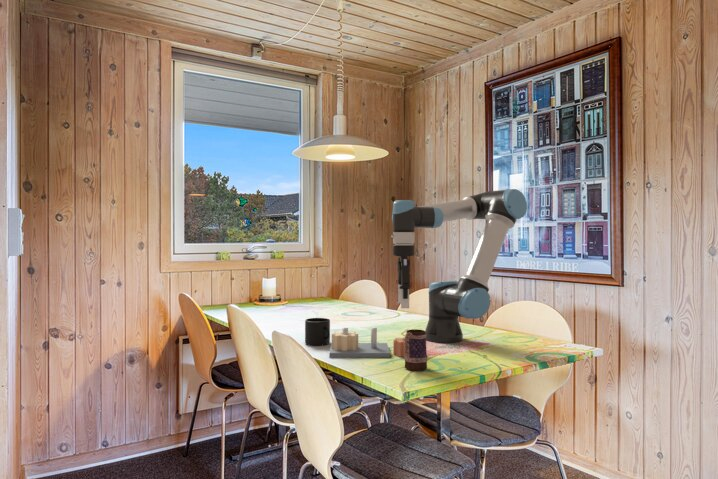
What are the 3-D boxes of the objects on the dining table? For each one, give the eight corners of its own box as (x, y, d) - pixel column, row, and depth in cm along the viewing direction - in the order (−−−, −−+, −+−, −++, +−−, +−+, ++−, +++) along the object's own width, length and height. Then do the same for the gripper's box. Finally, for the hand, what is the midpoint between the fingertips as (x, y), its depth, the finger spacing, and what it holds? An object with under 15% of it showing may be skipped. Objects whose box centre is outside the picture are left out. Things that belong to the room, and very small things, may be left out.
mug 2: (411, 364, 161) (411, 327, 160) (431, 367, 157) (431, 329, 156) (395, 371, 152) (395, 331, 152) (416, 375, 148) (416, 334, 148)
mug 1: (319, 348, 183) (319, 323, 183) (300, 343, 192) (300, 319, 192) (339, 344, 189) (339, 320, 189) (319, 339, 198) (319, 317, 198)
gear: (418, 351, 179) (418, 337, 179) (422, 357, 169) (422, 342, 169) (392, 351, 179) (392, 337, 179) (394, 357, 169) (394, 342, 169)
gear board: (386, 347, 186) (387, 324, 185) (390, 357, 170) (390, 332, 169) (331, 347, 185) (331, 324, 185) (329, 357, 169) (329, 332, 169)
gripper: (390, 244, 187) (390, 300, 187) (395, 245, 162) (395, 310, 162) (410, 244, 187) (410, 300, 187) (418, 245, 162) (418, 310, 162)
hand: (403, 305), depth 175 cm, fingers open, 13 cm apart
